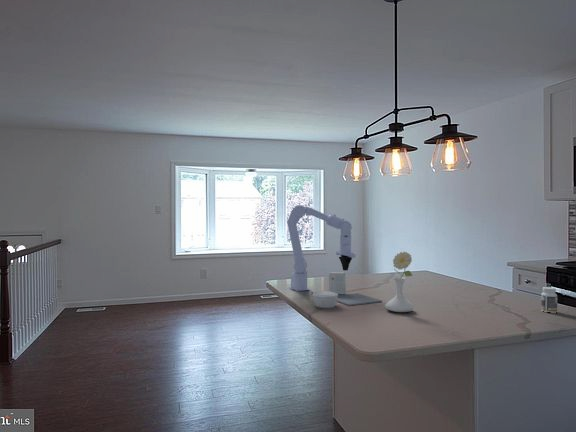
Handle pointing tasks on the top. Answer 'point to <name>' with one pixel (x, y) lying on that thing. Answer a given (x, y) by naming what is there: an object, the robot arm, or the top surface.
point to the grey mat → (356, 299)
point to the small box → (337, 282)
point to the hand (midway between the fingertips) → (345, 270)
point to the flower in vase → (400, 284)
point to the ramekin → (325, 299)
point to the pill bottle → (549, 300)
